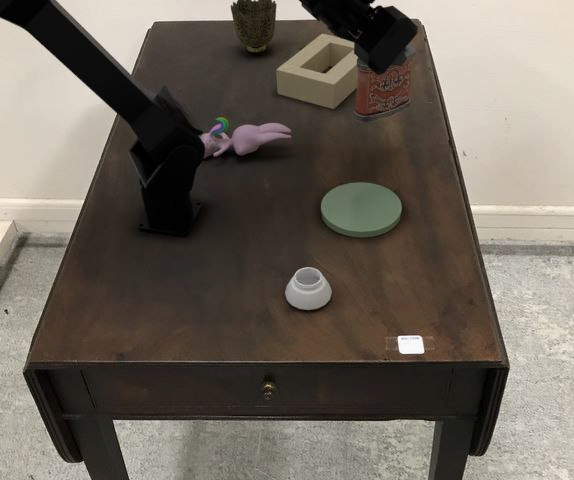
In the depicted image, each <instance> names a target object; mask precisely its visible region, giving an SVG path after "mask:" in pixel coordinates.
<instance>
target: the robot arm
mask: <svg viewBox="0 0 574 480" xmlns="http://www.w3.org/2000/svg"><path fill="white" fill-rule="evenodd" d="M298 1H299V2H300V3H301V7H302V8H303V9H304V10H305V11H306V12H307V13H308V14H310V15H311V16H312V17H313V18H314V19H315V20H316V21H317V22H318V23H321V22H322V23H323V24H324V25H325V26H326V29H327V30H328V31H329V32H330V33H332V35H333V36H335V37H339V38H341V39H345V40H348V41H351V42H354V54H355V55H356V56H357V57H358V58H359V59H360V60H362V61H363V62H364V63H365V64H366V65H367V66H368V67H369V68H370V69H371V70H373V71H374V72H375V73H376V74H377V75H381V74H384V73H385V72H386V70H387V69H388V68H389V67H390V66H391V64H392V65H397V66H402V65H403V64H404V63H405V62H406V60H407V57H406V55H405V53H404V51H403V50H404V49H405V48H406V46H407V45H410V43H411V42H412V41H413V40H414V39H415V37H416V36H417V35H418V31H419V27H418V26H417V24H416V23H414V21H413V20H412V19H411V18H410V17H409V16H408V15H406V14H405V13H404V12H403V11H402V10H400V9H398V8H397V7H396V6H394V5H388V6H384V7H383V5H381V4H379V5H376V6H375V7H373V6H372V4H374V3H375V1H376V0H298ZM0 19H1V20H4V21H6V22H8V23H10V24H13V25H15V26H17V27H19V28H20V29H23V30H24V31H25V32H27V33H28V34H30V35H31V36H32V37H33V39H35V40H36V41H37V42H38V43H39V44H40V45H41V46H42V47H44V49H46V50H47V51H48V52H49V53H50V54H51V55H52V56H53V57H55V58H56V60H58V61H59V62H60V63H61V64H62V65H63V66H64V67H66V69H67V70H69V71H70V72H71V73H72V74H73V75H74V76H75V77H76V78H78V80H80V82H82V83H83V84H84V85H85V86H86V87H87V88H88V89H90V90H91V91H92V92H93V93H94V94H95V95H96V96H97V97H98V98H99V99H100V100H102V101H103V102H104V103H105V104H106V105H107V106H108V107H109V108H110V109H111V110H112V111H114V112H115V113H116V114H117V115H118V116H119V117H120V118H121V119H122V120H123V121H125V122H126V123H127V124H128V126H129V127H130V129H131V130H132V132H133V133H134V135H135V136H136V139H134V142H133V143H132V144H131V145H130V147H129V148H128V150H127V153H128V156H129V158H130V160H131V162H132V165H133V166H134V169H135V171H136V173H137V175H138V177H139V178H138V183H139V187H140V194H141V198H142V202H143V207H144V212H145V213H144V214H143V216H142V218H141V219H140V221H139V222H138V224H137V229H138V231H140V232H147V233H155V234H162V235H170V236H176V237H187V236H188V235H189V233H190V231H191V230H192V228H193V226H194V224H195V222H196V220H197V219H198V217H199V215H200V214H201V212H202V210H203V207H204V204H203V202H201V201H195V200H192V196H191V192H192V190H193V187H194V182H195V178H196V174H197V169H198V168H199V167H200V166H201V164H202V163H203V161H204V159H205V158H204V155H205V150H206V148H205V145H204V143H203V141H202V139H201V138H200V137H201V136H202V135H203V134H204V131H203V129H201V127H200V125H199V124H198V122H197V120H196V119H195V117H194V116H193V115H192V113H191V111H190V110H189V108H188V107H187V105H186V104H184V103H182V102H180V101H178V100H177V99H176V98H175V96H173V94H172V93H171V91H170V90H169V88H168V86H166V85H165V84H164V85H163V86H162V87H161V89H160V90H159V91H158V92H157V93H156V92H154V91H152V90H151V89H147V88H146V87H145V86H143V85H142V84H141V83H140V82H139V81H138V80H137V79H136V78H135V77H134V76H133V75H132V74H131V73H130V72H129V71H128V70H127V69H126V68H125V67H124V66H123V65H122V64H121V63H120V62H119V61H118V60H117V59H116V58H115V57H114V56H113V55H112V54H111V53H110V52H109V51H108V50H107V49H106V48H105V47H104V46H103V45H102V44H101V43H100V42H99V41H98V40H97V39H96V38H95V37H94V36H93V35H92V34H91V33H90V32H89V31H88V30H87V29H86V28H85V27H84V26H82V24H81V23H80V22H78V20H76V19H75V17H74V16H73V15H72V14H70V13H69V12H68V10H66V8H65V7H63V5H61V3H59V2H58V0H0Z"/></svg>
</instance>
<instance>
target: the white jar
mask: <svg viewBox="0 0 574 480" xmlns="http://www.w3.org/2000/svg"><path fill="white" fill-rule="evenodd" d="M332 293H333V291H332V287H331V285H330V283H329V282H328V280H327V278H326V277H325V276H324V275H323V274H322V272H321V271H320V269H317V268H314V267H310V266H307V267H303V268H299V269H297V270H296V272H295V273H294V275H293V276H292V277H291V279H290V280H289V282H288V283H287V285H286V288H285V291H284V295H285V298H286V301H287V302H288V303H289V304H290V305H291V306H292V307H295V308H297V309H299V310H305V311H306V310H307V311H311V310H317V309H320V308H322V307H324V306H326V305H327V304H328V302H329V301H330V300H331V297H332Z"/></svg>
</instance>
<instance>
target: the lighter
mask: <svg viewBox="0 0 574 480" xmlns="http://www.w3.org/2000/svg"><path fill="white" fill-rule="evenodd" d="M403 51H404V53H405V55H406V57H407V60H406V62H405V63H404V64H403V65H402V66H397V65H392V64H391V66H390V67H389V68H388V69H387V70H386V72H385V73H384V74H381V75H377V74H376V73H375V72H374V71H373V70H371V69H370V68H369V67H368V66H367V65H366V64H365V63H364V62H363V61H362V60H360V59H359V58H357V68H358V77H357V88H356V95H355V96H356V97H355V108H354V110H353V118H354V120H355V121H356V122H358V123H363V124H366V123H372V122H377V121H381V120H384V119H388V118H391V117H393V116H395V115H398V114H400V113H403V112H404V111H406V110H407V109H409V108H410V105H411V98H410V90H411V81H412V73H413V65H414V58H415V57H416V51H417V49H416V47H415V46H413V45H410V44H408V45H407V46H406V48H405V49H404V50H403Z"/></svg>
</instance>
